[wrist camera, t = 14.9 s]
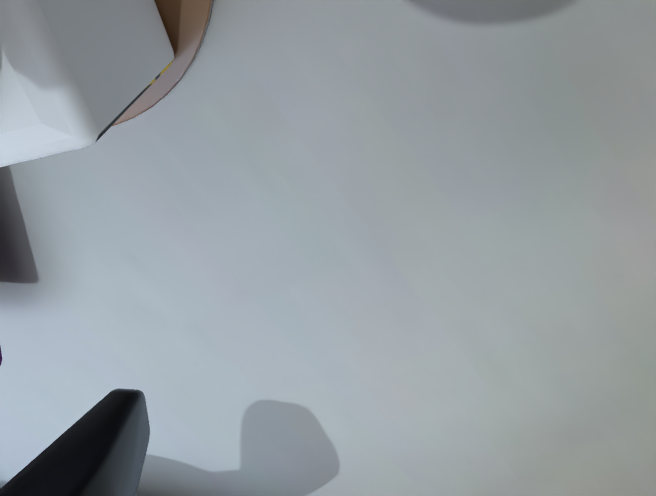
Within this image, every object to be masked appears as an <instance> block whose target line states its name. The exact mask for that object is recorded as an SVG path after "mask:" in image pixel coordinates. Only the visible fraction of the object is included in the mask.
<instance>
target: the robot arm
mask: <svg viewBox="0 0 656 496" xmlns="http://www.w3.org/2000/svg"><path fill="white" fill-rule="evenodd" d="M149 435H150V427H149V420H148V414H147V407H146V401H145V396H144V394H143V392H142V391H140V390H133V389H115V390H113V391H111V392H110V393H109V394H108V395H106V396H105V397H104V398H103V399H102V400H101V401H100V402H98V403H97V404H96V405H95V406H94V407H93V408H92V409H91V410H89V411H88V412H87V413H86V414H85V415H84V416H83V417H81V418H80V419H79V420H78V421H77V422H76V423H75V424H73V425H72V426H71V427H70V428H69V429H68V430H67V431H66V432H64V433H63V434H62V435H61V436H60V437H59V438H58V439H56V440H55V441H54V442H53V443H52V444H51V445H50V446H49V447H47V448H46V449H45V450H44V451H43V452H42V453H41V454H39V455H38V456H37V457H36V458H35V459H34V460H33V461H31V462H30V463H29V464H28V465H27V466H26V467H25V468H24V469H22V470H21V471H20V472H19V473H18V474H17V475H16V476H14V477H13V478H12V479H11V480H10V481H9V482H8V483H7V484H5V485H4V486H3V487H2V488H1V489H0V496H136V492H137V488H138V484H139V480H140V476H141V472H142V467H143V463H144V459H145V455H146V451H147V447H148V442H149Z"/></svg>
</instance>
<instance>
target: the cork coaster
mask: <svg viewBox="0 0 656 496" xmlns="http://www.w3.org/2000/svg"><path fill="white" fill-rule="evenodd" d="M154 1H155V4H156V6H157V9H158V12H159V14H160V17H161V19H162V22H163V25H164V27H165V30H166V33H167V35H168V38H169V41H170V43H171V46H172V49H173V52H174V60H173V62H172V64H171V65H170V66H169V67H168V68H167V69H166V70H165V72H164V73H163V74H162V75H161V76H160V77H159V78H158V79H157V80H156V81H155V82H154V83H153V84H152V85H151V86H150V87H149V88H148V89H147V90H146V91H145V92H144V93H143V94H142V95H141V96H140V97H139V98H138V99H137V100H136V101H135V102H134V103H133V104H132V105H131V106H130V107H129V108H128V109H127V110H126V112H125V113H124V114H123V115H122V116H121V117H120V118H119V119H118V120H117V121H116V122H115V123H114V124H113V125H117V124H119V123H122V122H124V121H127V120H129V119H132V118H134V117H136V116H138V115H139V114H141V113H143V112H145V111H146V110H148V109H150V108H151V107H153V106H154V105H155V104H156V103H158V102H159V101H160V100H161V99H162V98H164V97H165V96H166V95H167V94H168V93H169V92H170V91H171V90H172V89H173V87H174V86H175V85H176V84H177V83H178V82H179V81H180V80H181V79H182V77H183V76H184V74H185V73H186V71H187V70H188V68H189V67H190V65H191V64H192V62H193V61H194V59H195V57H196V55H197V53H198V50H199V48H200V46H201V44H202V42H203V40H204V36H205V33H206V30H207V27H208V23H209V20H210V16H211V10H212V4H213V0H154ZM113 125H112V126H113Z"/></svg>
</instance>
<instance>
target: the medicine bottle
mask: <svg viewBox="0 0 656 496" xmlns="http://www.w3.org/2000/svg"><path fill="white" fill-rule="evenodd" d="M173 60H174V52H173V49H172V46H171V43H170V41H169V38H168V35H167V33H166V30H165V27H164V25H163V22H162V19H161V17H160V14H159V12H158V9H157V6H156V4H155V1H154V0H0V167H4V166H8V165H12V164H16V163H21V162H25V161H29V160H33V159H37V158H42V157H46V156H50V155H54V154H59V153H63V152H67V151H71V150H76V149H80V148H84V147H88V146H90V145H92V144H93V143H95V142H96V141H97V140H98V139H99V138H100V137H101V136H102V135H103V134H104V133H105V132H106V131H107V130H108V129H109V128H110V127H111V126H112V125H113V124H114V123H115V122H116V121H117V120H118V119H119V118H120V117H121V116H122V115H123V114H124V113H125V112H126V110H127V109H128V108H129V107H130V106H131V105H132V104H133V103H134V102H135V101H136V100H137V99H138V98H139V97H140V96H141V95H142V94H143V93H144V92H145V91H146V90H147V89H148V88H149V87H150V86H151V85H152V84H153V83H154V82H155V81H156V80H157V79H158V78H159V77H160V76H161V75H162V74H163V73H164V72H165V70H166V69H167V68H168V67H169V66H170V65H171V64H172V62H173Z"/></svg>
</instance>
